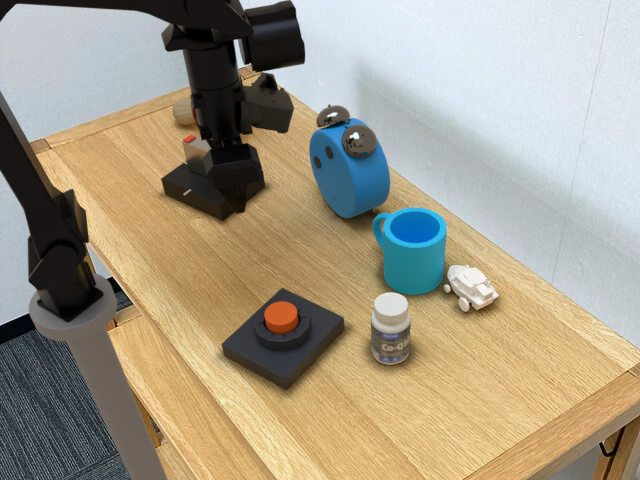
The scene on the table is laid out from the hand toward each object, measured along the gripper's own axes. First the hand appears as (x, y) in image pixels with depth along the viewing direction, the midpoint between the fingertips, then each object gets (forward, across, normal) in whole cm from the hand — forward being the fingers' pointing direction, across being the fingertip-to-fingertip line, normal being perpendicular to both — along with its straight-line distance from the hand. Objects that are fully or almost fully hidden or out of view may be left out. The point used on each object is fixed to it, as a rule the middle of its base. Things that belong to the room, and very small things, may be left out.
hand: (235, 191), depth 97 cm
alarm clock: (+12, +8, -17) cm, 22 cm away
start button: (+8, -17, -2) cm, 19 cm away
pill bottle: (+12, -22, -14) cm, 29 cm away
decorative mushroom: (+12, +35, 0) cm, 37 cm away
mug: (+12, -7, -20) cm, 25 cm away
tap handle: (+9, +18, +2) cm, 20 cm away
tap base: (+12, +18, +2) cm, 22 cm away
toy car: (+12, -15, -27) cm, 33 cm away
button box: (+12, -17, -2) cm, 21 cm away
